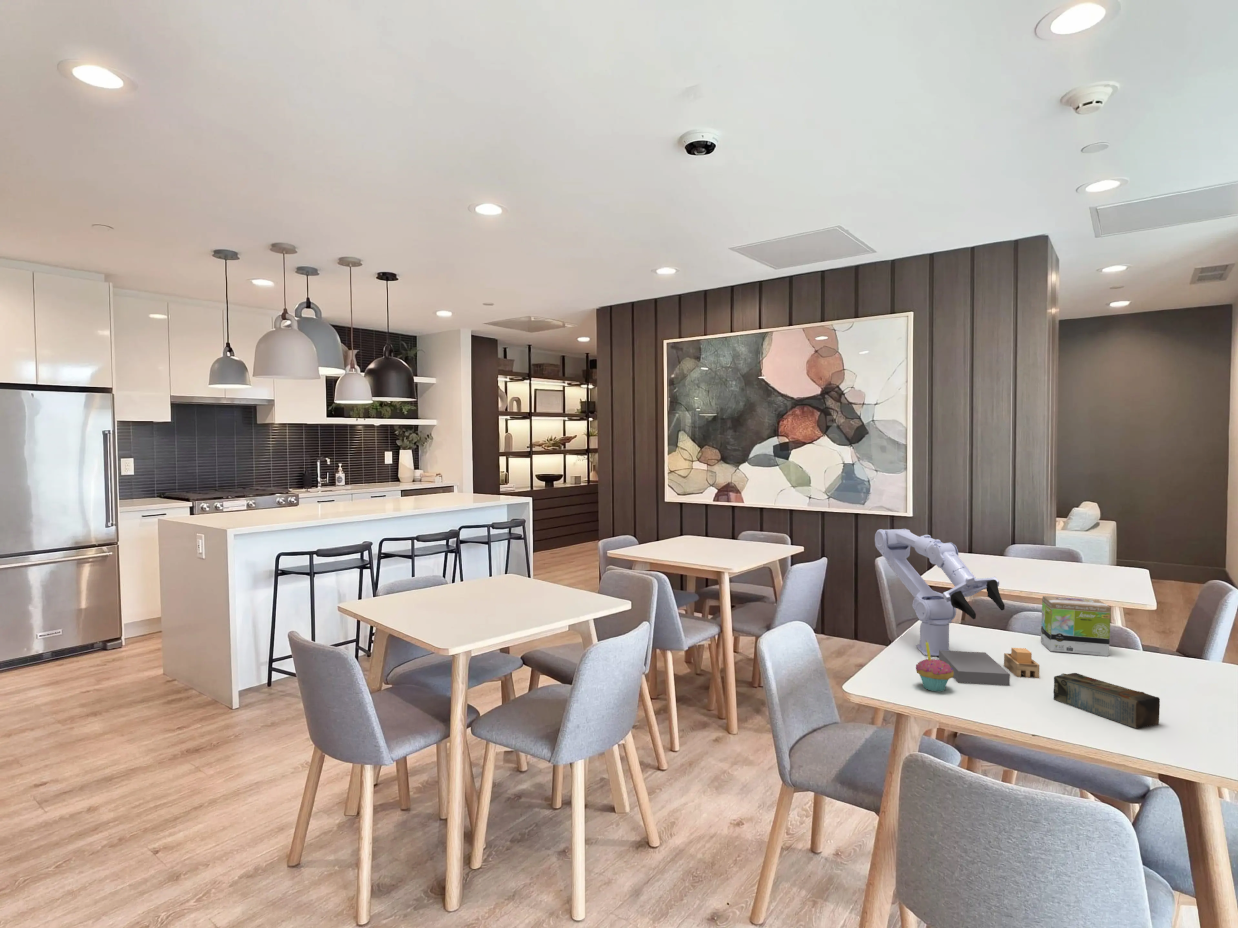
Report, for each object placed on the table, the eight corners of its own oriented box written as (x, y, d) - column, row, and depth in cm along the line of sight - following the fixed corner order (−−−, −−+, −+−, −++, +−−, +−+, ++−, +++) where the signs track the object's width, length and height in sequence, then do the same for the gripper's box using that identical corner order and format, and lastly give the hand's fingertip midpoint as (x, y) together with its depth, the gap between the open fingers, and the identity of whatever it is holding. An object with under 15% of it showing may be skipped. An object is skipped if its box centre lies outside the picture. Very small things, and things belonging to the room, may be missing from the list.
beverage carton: (1074, 695, 167) (1075, 668, 167) (1162, 725, 149) (1162, 695, 149) (1052, 700, 164) (1052, 672, 164) (1138, 731, 146) (1139, 700, 146)
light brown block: (1011, 658, 186) (1011, 647, 186) (1025, 659, 186) (1025, 648, 185) (1017, 663, 182) (1017, 652, 182) (1031, 664, 182) (1031, 652, 182)
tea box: (1050, 652, 201) (1051, 602, 200) (1040, 642, 210) (1041, 594, 210) (1110, 657, 196) (1111, 605, 196) (1097, 647, 206) (1098, 597, 205)
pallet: (1003, 666, 189) (1004, 653, 189) (1025, 667, 188) (1025, 654, 188) (1016, 677, 180) (1016, 663, 180) (1039, 678, 179) (1039, 664, 179)
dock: (939, 660, 193) (939, 650, 193) (985, 663, 191) (985, 652, 191) (958, 682, 176) (958, 671, 175) (1009, 685, 173) (1009, 673, 173)
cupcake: (914, 690, 170) (914, 642, 170) (917, 680, 178) (917, 633, 177) (952, 696, 166) (953, 647, 166) (954, 685, 174) (954, 638, 173)
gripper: (934, 573, 188) (962, 610, 177) (986, 557, 187) (1017, 593, 176) (934, 590, 192) (961, 627, 181) (985, 574, 191) (1015, 611, 180)
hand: (988, 612), depth 179 cm, fingers open, 7 cm apart
